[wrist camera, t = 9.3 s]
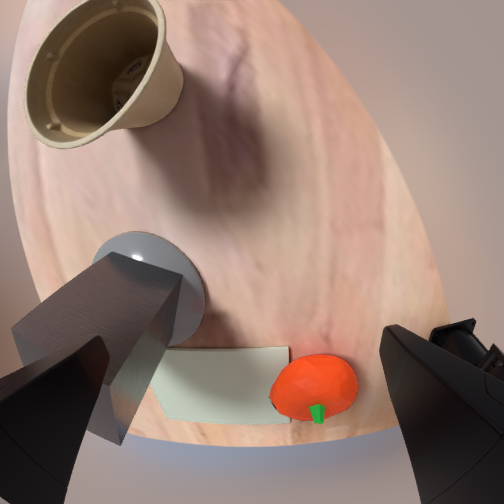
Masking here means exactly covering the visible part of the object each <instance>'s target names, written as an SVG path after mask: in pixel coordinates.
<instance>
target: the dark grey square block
mask: <svg viewBox="0 0 504 504" xmlns="http://www.w3.org/2000/svg"><path fill="white" fill-rule="evenodd" d="M182 278H183V274H180V273H176V272H173V271H170V270H167V269H164V268H161V267H158V266H155V265H152V264H148V263H145V262H142V261H139V260H136V259H133V258H131V257H128V256H125V255H122V254H119V253H116V252H113V251H112V252H110V253H109V254H107V255H106V256H104V257H103V258H101V259H100V260H99V261H97V262H96V263H94V264H93V265H91V266H90V267H89V268H87V269H86V270H84V271H83V272H82V273H80V274H79V275H77V276H76V277H75V278H73V279H72V280H71V281H69V282H68V283H67V284H65V285H64V286H63V287H61V288H60V289H59V290H57V291H56V292H55V293H53V294H52V295H51V296H50V297H48V298H47V299H46V300H44V301H43V302H42V303H41V304H40V305H38V306H37V307H36V308H35V309H33V310H32V311H31V312H30V313H28V314H27V315H26V316H25V317H24V318H22V319H21V320H20V321H19V322H18V323H17V324H15V325H14V326H13V327H12V328H11V330H12V333H13V336H14V340H15V343H16V346H17V349H18V352H19V355H20V358H21V361H22V363H23V366H24V367H25V366H27V365H29V364H31V363H33V362H35V361H37V360H39V359H41V358H43V357H45V356H47V355H49V354H51V353H53V352H55V351H57V350H59V349H61V348H64V347H66V346H68V345H70V344H72V343H74V342H76V341H78V340H80V339H82V338H84V337H86V336H88V335H90V334H94V335H100V336H101V337H102V338H103V340H104V343H105V345H106V347H107V349H108V352H109V354H110V362H109V365H108V368H107V371H106V374H105V378H104V381H103V384H102V388H101V391H100V394H99V397H98V400H97V402H96V405H95V407H94V410H93V412H92V415H91V418H90V420H89V423H88V426H87V429H86V430H88V431H90V432H92V433H94V434H96V435H98V436H100V437H102V438H104V439H106V440H108V441H111V442H113V443H115V444H117V445H119V446H121V444H122V442H123V440H124V437H125V435H126V433H127V431H128V429H129V426H130V424H131V422H132V420H133V418H134V415H135V413H136V411H137V409H138V407H139V405H140V403H141V400H142V398H143V396H144V394H145V392H146V390H147V388H148V386H149V384H150V382H151V380H152V377H153V375H154V373H155V371H156V369H157V367H158V365H159V363H160V361H161V359H162V357H163V355H164V353H165V351H166V349H167V347H168V345H169V343H170V341H171V339H172V337H173V330H174V324H175V317H176V311H177V305H178V300H179V294H180V288H181V283H182Z"/></svg>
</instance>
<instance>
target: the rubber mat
mask: <svg viewBox="0 0 504 504" xmlns="http://www.w3.org/2000/svg"><path fill="white" fill-rule="evenodd" d="M288 364H289V349H288V346H283V347H265V348H234V349H196V348H167V349H166V351H165V353H164V355H163V357H162V359H161V361H160V363H159V365H158V367H157V369H156V371H155V373H154V375H153V377H152V380H151V382H150V386H151V388H152V390H153V392H154V394H155V396H156V398H157V400H158V402H159V404H160V406H161V408H162V410H163V412H164V414H165V415H166V417H167V419H172V420H180V421H190V422H201V423H215V424H284V423H290V418H289V417H287V416H284V415H282V414H280V413H279V412H278V410H277V409H275V408H274V406H273V405H272V403H273V402H272V401H271V399H270V398H268V397H269V395H270V390H271V387H272V385H273V383H274V382H275V380H276V379H277V377H278V375H279V374H280V372H281V370H282V369H283V368H284V367H286V366H287V365H288ZM270 401H271V402H272V403H271V402H270Z"/></svg>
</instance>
